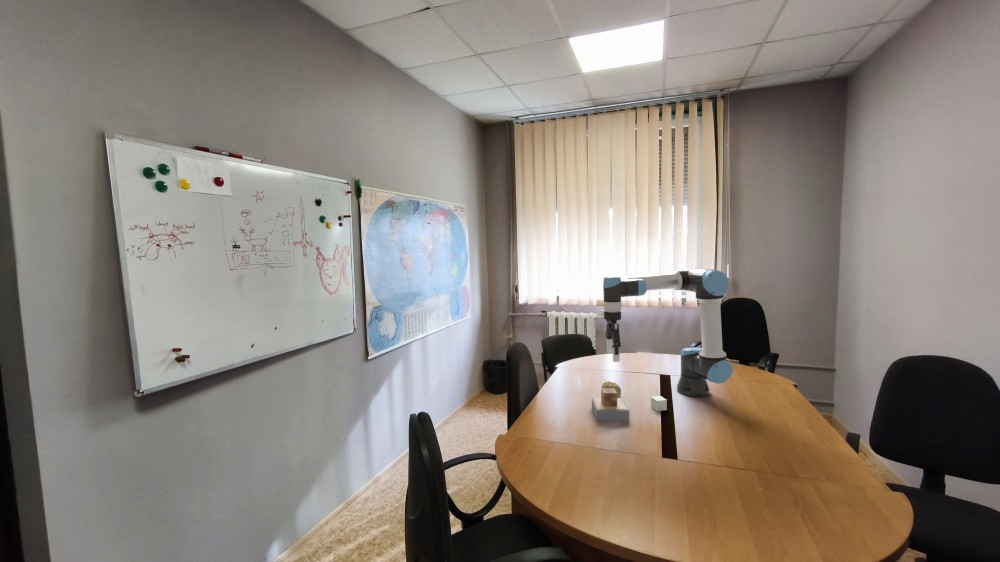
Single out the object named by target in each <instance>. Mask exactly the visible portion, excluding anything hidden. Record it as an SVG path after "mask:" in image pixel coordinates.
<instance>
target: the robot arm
mask: <svg viewBox="0 0 1000 562" xmlns="http://www.w3.org/2000/svg"><path fill="white" fill-rule="evenodd" d="M602 285H603V286H602V289H603V290H602V291H603V303H602V307H603V310H604V311H603V319H604V320H605V321H606V329H605V337H606V354H612V362H613V363H620V362H621V361H620V360H621V359H620V358H621V357H620V354H621V353H620V351H621V350H620V349H621V347H622V345H621V335H620V325H619V323H617V321H621V319H622V311H621V310H622V298H626V297H627V298H628V297H641V296H644V295H645V294H646V293H647V292H648V291H659V290H671V289H673V290H674V291H688V292H693V293H695V299H696V300H698V302H699V316H700V333H701V334H700V335H701V347H693V346H692V347H685V348H682V349H681V352H680V377H679V379H678V382H677V385H676V391H677V392H678V393H680V394H681V395H683V396H688V397H693V398H694V397H695V398H705V397H708V396H709V395H710V386H709V384H708V382H707V381H709V382H711V383H715V384H719V385H720V384H724V383H727V382H728V381H729V379H730V378H731V376H733V372H734V368H733V365H732V363H731V362H730V361H728V360H727V353H726V352H725V351H724V350H723V334H722V316H721V315H722V314H721V301H722V300H723V299H724V297H725V296H724V295H725V294H726V293H727V290H729V286H730V281H729V278H728V277H727V275H726V274H725V273H724V272H722V271H721V270H719V269H718V270H717V269H712V268H688V269H682V270H673V271H672V272H671V273H663V274H662V273H660V274H647V275H636V276H635V275H633V276H624V277H622V276H621V277H620V276H618V275H613V276H612V275H608V276H605V277H604V278H603V284H602Z"/></svg>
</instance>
